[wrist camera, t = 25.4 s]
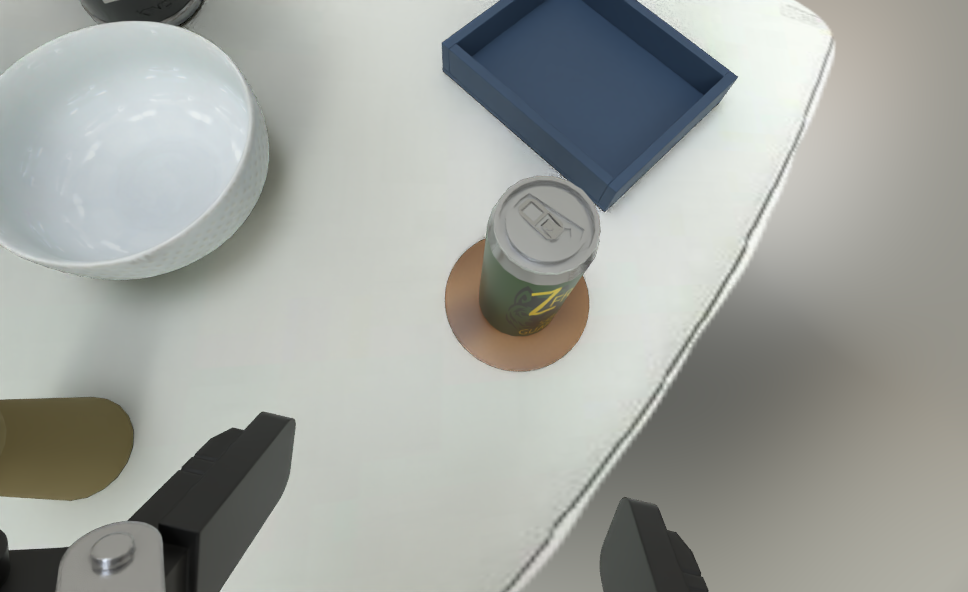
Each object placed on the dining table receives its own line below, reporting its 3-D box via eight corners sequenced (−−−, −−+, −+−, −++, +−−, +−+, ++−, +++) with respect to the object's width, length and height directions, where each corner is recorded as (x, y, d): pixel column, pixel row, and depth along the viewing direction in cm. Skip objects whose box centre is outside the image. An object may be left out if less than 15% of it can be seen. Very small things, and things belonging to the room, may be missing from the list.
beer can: (461, 300, 33) (463, 221, 22) (516, 249, 35) (543, 150, 23) (518, 355, 32) (551, 302, 21) (571, 301, 34) (629, 224, 22)
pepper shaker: (151, 412, 31) (-8, 392, 20) (101, 513, 29) (-102, 548, 18) (62, 385, 31) (-141, 350, 20) (7, 483, 29) (-247, 500, 19)
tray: (442, 70, 40) (441, 42, 37) (562, -19, 43) (569, -51, 41) (604, 212, 37) (616, 192, 34) (719, 102, 40) (738, 76, 37)
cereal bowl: (71, 99, 37) (-14, 21, 31) (295, 90, 39) (260, 13, 32) (29, 312, 32) (-84, 275, 25) (288, 294, 33) (245, 254, 27)
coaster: (415, 298, 34) (414, 296, 33) (515, 209, 36) (515, 206, 36) (519, 403, 32) (519, 402, 32) (616, 301, 34) (618, 300, 34)
